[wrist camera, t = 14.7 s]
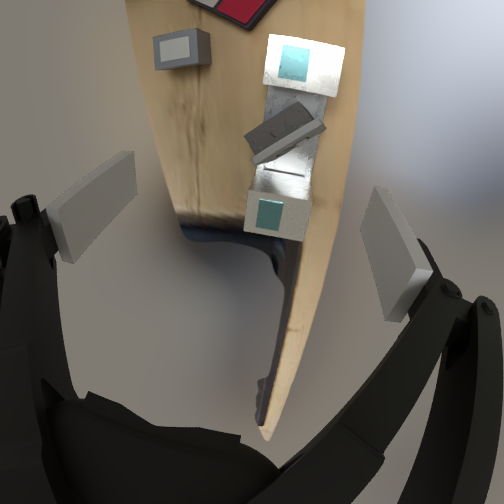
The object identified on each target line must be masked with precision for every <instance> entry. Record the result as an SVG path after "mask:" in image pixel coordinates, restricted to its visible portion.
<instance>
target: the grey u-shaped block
mask: <svg viewBox="0 0 504 504" xmlns="http://www.w3.org/2000/svg"><path fill="white" fill-rule="evenodd" d="M344 51H345V48H342V47H338V46H334V45H329V44H325V43H320V42H315V41H310V40H305V39H299V38H293V37H287V36H280V35H272V34H270V36H269V42H268V49H267V56H266V63H265V71H264V78H263V84H266V85H269V86H268V93H267V100H266V107H265V114H264V121H263V123H264V122H266V121H267V120H269V119H270V118H272V117H273V116H275V115H277V114H278V113H280V112H281V111H283V110H285V109H286V108H288V107H289V106H291V105H293V104H294V103H296V102H298V101H299V103H300V104H302V105H303V106H304V107H305V108H306V109H307V110H308V111H309V112H310V114H311V115H312V116H313V118H314V119H316V118H320V120H321V122H323V117H324V112H325V106H326V101H327V96H331V97H335V98H336V96H337V91H338V85H339V80H340V74H341V69H342V63H343V57H344ZM289 111H290V110H289ZM285 122H286V121H285ZM319 137H320V134H318V135H316V136H315V137H313V138H311V139H309V141H308V142H307V143H306V144H304V145H302V146H300V147H298V148H297V147H296V148H294V149H292V150H291V151H289V152H288V153H286V154H284V155H283V156H281V157H279V158H278V159H276V160H274V161H271V162H268V163H264V164H260V165H257V170H256V172H255V175H254V177H253V180H252V182H251V185H250V187H249V190H248V198H247V206H246V214H245V223H244V231H247V232H253V233H259V234H264V235H270V236H275V237H281V238H286V239H291V240H297V241H302V242H303V240H304V236H305V232H306V228H307V224H308V220H309V216H310V213H311V209H312V205H313V195H312V187H311V179H310V178H311V174H312V169H313V165H314V160H315V156H316V151H317V146H318V141H319Z"/></svg>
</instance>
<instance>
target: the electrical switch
mask: <svg viewBox="0 0 504 504" xmlns="http://www.w3.org/2000/svg"><path fill="white" fill-rule="evenodd" d="M289 110H290V111H289ZM285 121H286V122H285ZM324 130H326V127H325V125H324V123H322V122H321V120H320V118H316V119H314V118H313V116H312V115H311V114H310V112H309V111H308V110H307V109H306V108H305V107H304V106H303V105H302V104H300V103H299V101H298V102H296V103H294V104H293V105H291V106H289V107H288V108H286V109H285V110H283V111H281V112H280V113H278V114H277V115H275V116H273V117H272V118H270V119H269V120H267V121H266V122H264V123H263V124H261V125H259V126H258V127H256V128H255V129H253V130H252V131H250V132H249V133H247V134H246V135H245V136H244V137H245V139H246V140H247V141H248V143H249V144H250V147H251V149H252V151H253V152H254V154H255V156H254V157H252V158H251V159H250V160H251V161H252V163H253V164H254V166H255V165H260V164H264V163H268V162H271V161H274V160H276V159H278V158H279V157H281V156H283V155H284V154H286V153H288V152H289V151H291V150H292V149H294V148H296V147H297V148H298V147H300V146H302V145H304V144H306V143H307V142H308V141H309V139H311V138H313V137H315V136H316V135H318V134H320V133H321V132H323V131H324Z"/></svg>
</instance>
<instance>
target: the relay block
mask: <svg viewBox="0 0 504 504" xmlns="http://www.w3.org/2000/svg"><path fill="white" fill-rule="evenodd" d="M153 45H154V59H155V70H174V69H180V68H186V67H193V66H200V65H208V64H212V63H211V47H210V34H209V33H207V32H205V31H202V30H200V29H197V28H194V29H189V30H183V31H178V32H173V33H169V34H164V35H160V36H156V37H153Z"/></svg>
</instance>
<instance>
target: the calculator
mask: <svg viewBox="0 0 504 504" xmlns="http://www.w3.org/2000/svg"><path fill="white" fill-rule="evenodd" d="M187 1H189V2H192V3H194V4H196V5H199V6H201V7H203V8H205V9H208V10H210V11H212V12H214V13H216V14H218V15H220V16H222V17H224V18H226V19H228V20H230V21H232V22H234V23H236V24H238V25H240V26H242V27H243V28H245V29H247V30H252V29H253V28H254V27H255V26H256V24H257V23H258V22H259V21H260V20H261V18H262V17H263V16H264V15H265V14H266V12H267V11H268V10H269V9H270V8H271V7H272V6H273V4H274V3H275V2H276V1H277V0H187Z"/></svg>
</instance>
